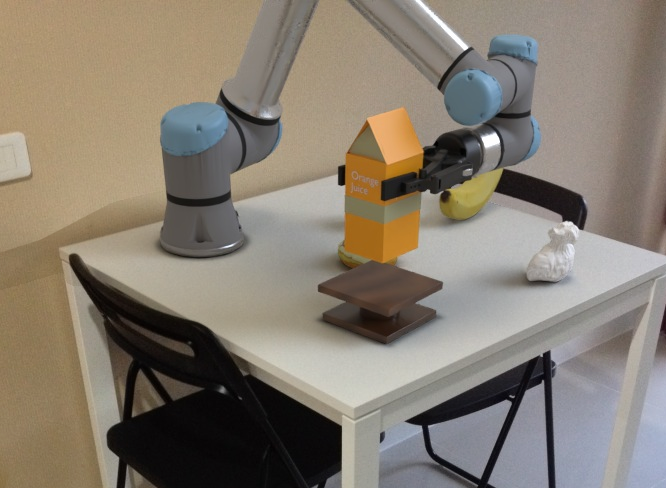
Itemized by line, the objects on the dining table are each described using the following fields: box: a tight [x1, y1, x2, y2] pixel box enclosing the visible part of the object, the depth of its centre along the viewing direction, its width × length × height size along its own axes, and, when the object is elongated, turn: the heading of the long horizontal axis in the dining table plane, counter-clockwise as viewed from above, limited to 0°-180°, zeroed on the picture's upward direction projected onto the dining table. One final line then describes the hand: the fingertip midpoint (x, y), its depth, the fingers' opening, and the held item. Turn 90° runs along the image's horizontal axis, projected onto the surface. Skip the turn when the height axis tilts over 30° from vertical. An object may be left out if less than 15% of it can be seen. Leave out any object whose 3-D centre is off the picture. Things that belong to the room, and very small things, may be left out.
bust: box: [526, 220, 580, 283], centre depth 168 cm, size 12×8×11 cm
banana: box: [438, 168, 504, 221], centre depth 191 cm, size 23×6×20 cm, turn 146°
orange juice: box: [344, 106, 424, 263], centre depth 144 cm, size 8×9×20 cm
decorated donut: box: [337, 239, 398, 269], centre depth 174 cm, size 10×11×4 cm
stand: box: [317, 260, 444, 345], centre depth 154 cm, size 14×14×6 cm
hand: (360, 183), depth 140 cm, fingers closed on orange juice, 8 cm apart
